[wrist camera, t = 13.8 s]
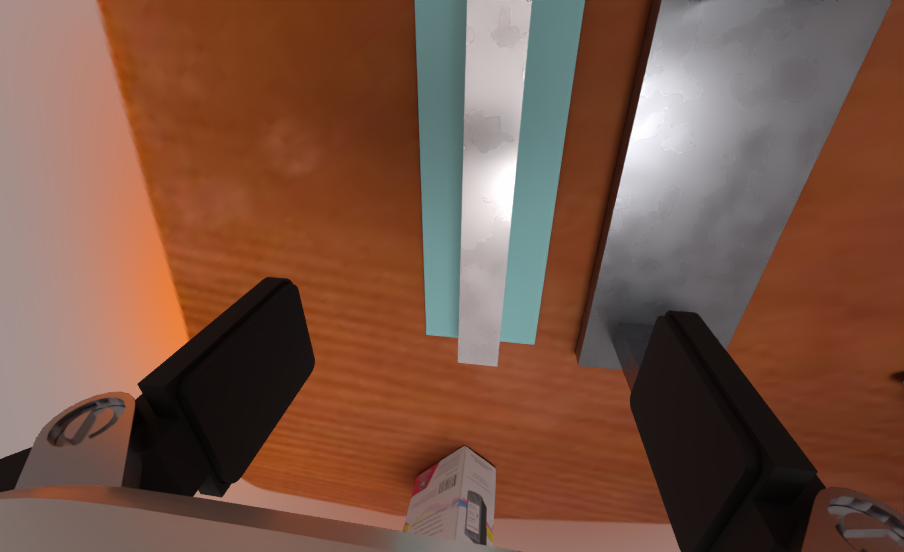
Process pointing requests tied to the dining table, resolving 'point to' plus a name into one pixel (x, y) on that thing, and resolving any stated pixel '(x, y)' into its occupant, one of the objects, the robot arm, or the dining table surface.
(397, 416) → the dining table surface
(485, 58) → the rail
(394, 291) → the dining table surface
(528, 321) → the mat
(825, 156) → the dining table surface
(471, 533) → the ink box
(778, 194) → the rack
